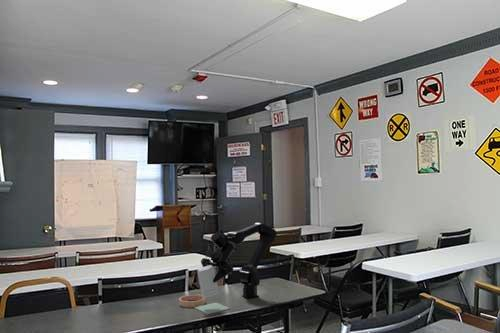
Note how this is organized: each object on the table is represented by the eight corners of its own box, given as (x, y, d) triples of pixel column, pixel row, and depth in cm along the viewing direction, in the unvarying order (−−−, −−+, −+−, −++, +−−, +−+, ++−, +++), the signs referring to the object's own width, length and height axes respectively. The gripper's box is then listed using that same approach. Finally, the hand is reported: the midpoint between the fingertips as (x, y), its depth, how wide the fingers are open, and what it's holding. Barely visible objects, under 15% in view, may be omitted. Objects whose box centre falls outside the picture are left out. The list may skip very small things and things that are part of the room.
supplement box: (219, 294, 189) (214, 267, 189) (204, 298, 187) (199, 271, 187) (216, 290, 196) (211, 264, 196) (201, 294, 194) (196, 268, 194)
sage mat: (216, 303, 199) (216, 302, 199) (229, 309, 190) (229, 308, 190) (194, 308, 192) (194, 307, 192) (207, 314, 183) (207, 313, 183)
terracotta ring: (197, 298, 209) (197, 293, 209) (209, 303, 199) (209, 298, 199) (174, 302, 202) (174, 297, 202) (186, 308, 192) (186, 303, 192)
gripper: (203, 241, 202) (185, 267, 194) (227, 245, 189) (209, 273, 181) (215, 255, 208) (199, 281, 199) (240, 259, 194) (223, 287, 186)
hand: (207, 280), depth 191 cm, fingers closed on supplement box, 9 cm apart
